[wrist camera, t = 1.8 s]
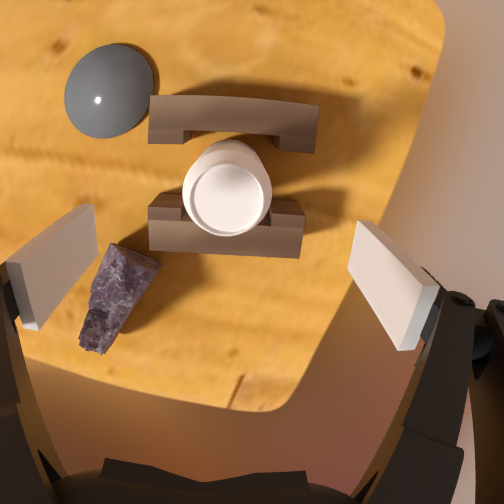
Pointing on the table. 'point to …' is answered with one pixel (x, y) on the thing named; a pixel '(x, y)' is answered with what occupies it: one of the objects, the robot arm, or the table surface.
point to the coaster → (109, 91)
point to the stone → (115, 295)
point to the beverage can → (227, 189)
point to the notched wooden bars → (241, 121)
